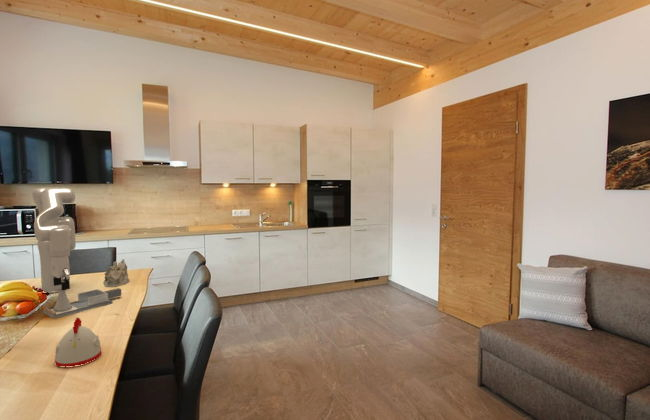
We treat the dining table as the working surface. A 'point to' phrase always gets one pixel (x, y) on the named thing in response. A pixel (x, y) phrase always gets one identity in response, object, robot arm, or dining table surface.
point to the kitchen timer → (77, 346)
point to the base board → (73, 308)
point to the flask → (62, 302)
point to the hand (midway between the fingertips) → (61, 287)
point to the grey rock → (116, 275)
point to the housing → (98, 296)
